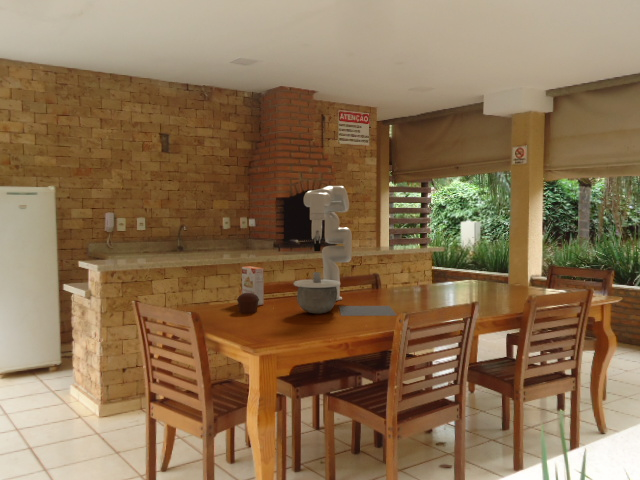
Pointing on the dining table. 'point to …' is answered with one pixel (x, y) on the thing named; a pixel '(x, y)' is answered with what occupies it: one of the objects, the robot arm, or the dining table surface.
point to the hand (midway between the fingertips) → (317, 250)
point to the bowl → (317, 299)
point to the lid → (317, 282)
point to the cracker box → (253, 282)
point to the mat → (366, 311)
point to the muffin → (248, 303)
